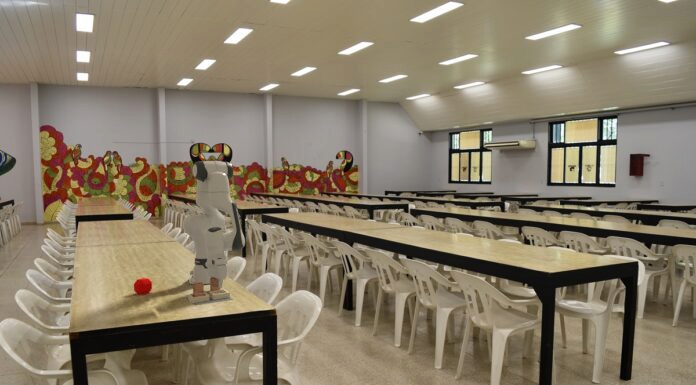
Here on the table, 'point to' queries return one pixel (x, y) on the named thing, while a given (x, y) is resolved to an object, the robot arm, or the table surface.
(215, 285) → the terracotta pin
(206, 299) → the board
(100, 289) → the table surface
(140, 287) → the ball
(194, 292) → the pin
